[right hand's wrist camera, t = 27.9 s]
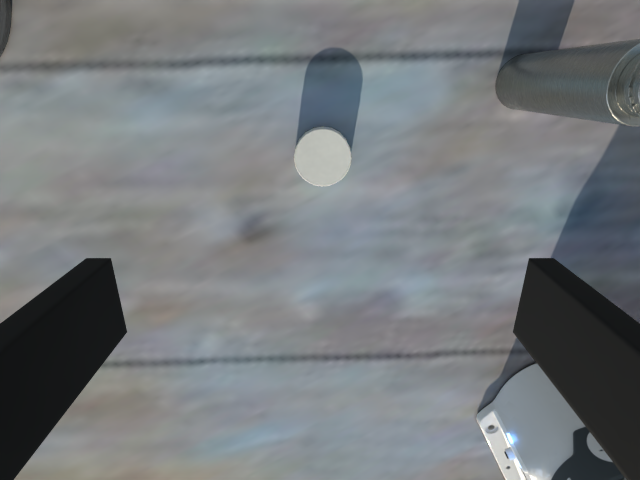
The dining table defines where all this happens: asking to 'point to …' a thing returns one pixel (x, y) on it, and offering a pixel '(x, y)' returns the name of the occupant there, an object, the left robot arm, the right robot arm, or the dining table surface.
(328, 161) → the lid
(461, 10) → the dining table surface
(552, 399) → the left robot arm
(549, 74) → the grey cylinder
